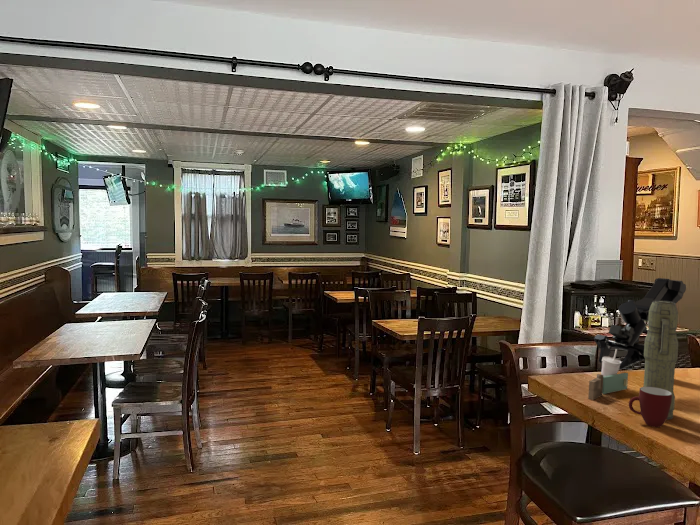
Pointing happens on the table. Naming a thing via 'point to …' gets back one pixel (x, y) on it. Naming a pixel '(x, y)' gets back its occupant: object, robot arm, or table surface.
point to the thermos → (661, 348)
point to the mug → (653, 405)
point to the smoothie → (610, 365)
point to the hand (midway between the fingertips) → (609, 364)
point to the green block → (615, 383)
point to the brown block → (595, 387)
